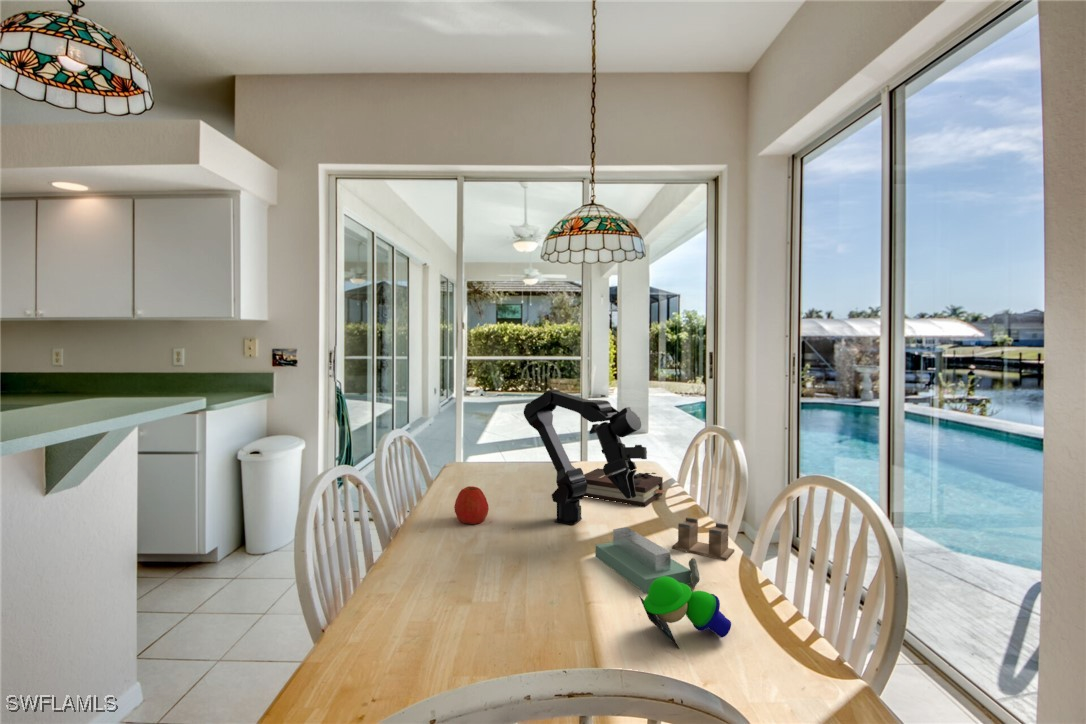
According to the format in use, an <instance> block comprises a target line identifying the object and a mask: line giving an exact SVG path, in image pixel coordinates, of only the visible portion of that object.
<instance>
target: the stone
mask: <svg viewBox="0 0 1086 724" xmlns="http://www.w3.org/2000/svg"><path fill="white" fill-rule="evenodd" d="M688 567H689V569H690V570H691V583H692V587H693V589H695V587H696V586H697V585H698V583H699V582H700V580H701V577H700V572H699V571H700V570H699V568H698V563H697V560H696V558H695V557H691V558H690V560H689V561H688Z"/></svg>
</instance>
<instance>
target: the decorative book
mask: <svg viewBox="0 0 1086 724" xmlns="http://www.w3.org/2000/svg"><path fill="white" fill-rule="evenodd" d="M583 474H584V476H585V477H586V478H587V480H586V482H587V486H588V487H587V490H586V493H585V494H584V496H588V497H593V498H599V499H604V500H603V501H605V500H609V501H608V502H611V501H616V502H615V503H617V502H622V503H621V504H623V503H627V504H626V505H629V504H631V505H630V506H635V507H636V506H637V507H642V508H647V507H648V506H649V505H650V504H652V503H653V502H654V501H656V500H657V499H659V498H660V497H662V496H663V493H665V492H666V490H663V481H664V480H663V476H656V474H657V472H651V473H649V472H645V473H644V472H643V473H642V472H638V473H637V472H636V473H635V475H634V477H633V478H634V485H635V492H636V497H634V498H632V497H631V498H629V499H627V498H626V497H625V496H624V495H623V494H622V492H621V491H620V490H619V489H618V488H617V487H616V486H615V485H614V484H613V483H612V482H611V480H610V479H609V478H608V476H610V475H612V473H611V474H609V475H605V473H604V470H603V468H596V469H593V470H591V471H589V472H586V473H583ZM593 498H592V499H593ZM599 499H598V500H599Z"/></svg>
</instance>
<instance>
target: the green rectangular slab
mask: <svg viewBox="0 0 1086 724" xmlns="http://www.w3.org/2000/svg"><path fill="white" fill-rule="evenodd" d="M595 558H597V559H598V560H599V561H601V562H603V564H605V565H607V566H608V567H609V568H610V569H612V570H613V571H614V572H616V573H618V574H619V575H620V576H621V577H623V578H624V579H625V580H626V581H627V582H630V583H631V584H632V585H634V586H635V587H636V588H638V589H639V590H640V591H641V592H643V593H645V594H648V592H649V588H650V585H651V584H652V582H653V581H654V580H656V579H657V578H659V577H663V576H667V577H671V578H674V579H675V580H677V581H678V582H679V583H684V584H686V585H690V584H691V583H692V578H691V570H690V568H688V567H686V566H684V565H683V564H681V563H680V562H677V561H676V560H675V559H672V558H671V570H667V571H662V572H657V573H655V572H654V571H652V570H651V569H649V568H648V567H646V566H644V565H643V564H641V563H640V562H638V561H637V560H635V559H634V558H632V557H631V556H629V555H628V554H626V553H625V552H623V551H622V550H620V549H618V548H617V547H615V546H614V545H613V541H611V542H609V541H608V542H605V543H599V544H595Z"/></svg>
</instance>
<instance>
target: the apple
mask: <svg viewBox="0 0 1086 724" xmlns="http://www.w3.org/2000/svg"><path fill="white" fill-rule="evenodd" d="M453 507H454V509H453V510H454V513H455V516H456V518H457V520H459V522H460V523H462V524H467V523H468V524H469V525H477V523H478V524H482V523H483V522H485V520H486V518H487V516H488V515H489V503H488V501H487V497H486V496H485V494H484V492H483V490H482V489H481V488H479V487H477V486H474V485H473V486H470V485H469V486H466V487H464V488H461V490H460V491H459V492H458V495H457V496H456V499H455V501H454V506H453Z"/></svg>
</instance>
